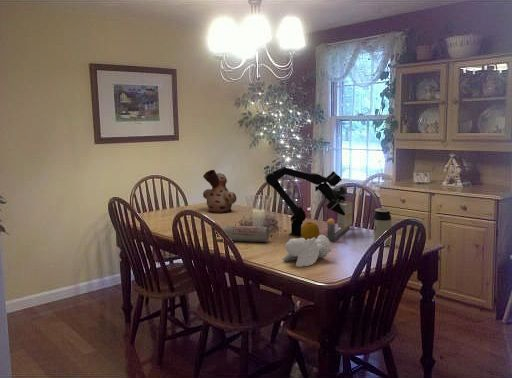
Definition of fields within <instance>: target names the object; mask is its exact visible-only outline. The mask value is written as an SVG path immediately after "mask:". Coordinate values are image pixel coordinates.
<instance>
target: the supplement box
mask: <svg viewBox="0 0 512 378" xmlns="http://www.w3.org/2000/svg"><path fill="white" fill-rule="evenodd" d="M340 207H341V208H342V210H343V211H344V213H345V215H344V216H343V215H341V214H339V213H337V227H338V228H339V229H341V228H347V227H348V226H350V227H351V226H352V225H353V201H348V200H346V201H344V202H342V203H340Z"/></svg>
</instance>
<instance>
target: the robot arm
mask: <svg viewBox="0 0 512 378" xmlns="http://www.w3.org/2000/svg"><path fill="white" fill-rule="evenodd" d="M284 176H289V177H290V176H291V177H292V178H293V177H294V178H298V179H302V180H305V181H307V182H309V183H312V184H314V185H315V186H314V191H315V192H318V191H319V192H320V193H321V194H322V195H323V196H324V197H323V198H324V200H327V201H328V203H327V204H326V209H328V211H329V210H330V211H333V212H334V213H337V214H338V213H339V214H341V215H343V216H344V215H345V213H344V211H343V210H342V208H341V207H340V203H342V202H344V201H347V196H346V194H348V191H347V188H346V187H344V186H340V187H339V189H338V190H336V189H333V188H332V187H336V185H338V184H339V183H340V182H341V181H342V180H343V179H342V178H341V177H340V176H339V175H338V174H337V173H336V172H335V170H333V171H332V172H331V173H330V174H328V175H327V176H322V175H321V174H319V173H316V172H305V171H301V170H298V169H297V170H296V169H293V168H290V167H286V166H282V167H281V168H279V169H277V170H273V172H268V173H266V174H265V178H264V179H265V181H266V183H267V184H268V185H269V186H270V187H272V189H274V190H275V191H276V192H277V194H278V195H279V196H280V197H281V199H282V200H283V202H284V203H285V204H286V205H287V206H288V207H289V209H290V211H291V214H292V216H291V217H290V218H289V221H290V222H291V224H290V228H291V230H290V231H291V232H290V233H288V235H289V236H297V237H298V236H299V237H302V236H301V228H302V226H303V224H304V223H303V222H304V221H305V220H306V218H307V215H306V211H305V210H304V209H303V207H302V206H301V205H300V204H298V205H296V203H295V202H294V200H292V198H291V196H289V195H288V193H287V192H286V190H285V189H284V188H283V187H282V186H281V183H280V181H279V179H281V178H282V177H284Z"/></svg>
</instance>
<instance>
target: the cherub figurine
mask: <svg viewBox="0 0 512 378" xmlns="http://www.w3.org/2000/svg"><path fill="white" fill-rule="evenodd" d="M285 250H286V252H287V254H285V255H284V256H283V258H282V261H283V262H288V261H294V260H296V263H295V267H297V268H302V267H309V266H313V265H314V264H316V263H317V260H318V258H320V259H323V258H326V257H327V256H328V254H329V253H330V252H332V248H331V242H330V241H329V239H328V236H326V235H324V234H320V235H319V236H318V238H317V239H316V238H315V237H314V238H312V239H307V240H305V239H304V238H302V237H299V238H294V237H293V238H290V239H289V240H288V241H287V242H286V243H285Z"/></svg>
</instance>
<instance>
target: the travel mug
mask: <svg viewBox="0 0 512 378" xmlns="http://www.w3.org/2000/svg"><path fill="white" fill-rule="evenodd" d="M374 211H375V215H374V217H373V218H374V225H373V226H374V229H373V231H374V232H373V235H374V236H373V243H374V242H375V241H376V240H377V239H378V238H379V237H380V236H381V235H382V234H383V233H384V232H385V231H386V230H388V229H389V228H390V227H391V228H392V215H391V213H390V212H391V209H390V208H385V207H381V208H378V207H377V208H375V209H374ZM391 238H392V237H390V238H389V239H388V240H387V241H386V243H385V246H386V247H388V246H387V245H389V244H390V241H391V240H392V239H391ZM390 245H391V244H390ZM390 245H389V246H390Z"/></svg>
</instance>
